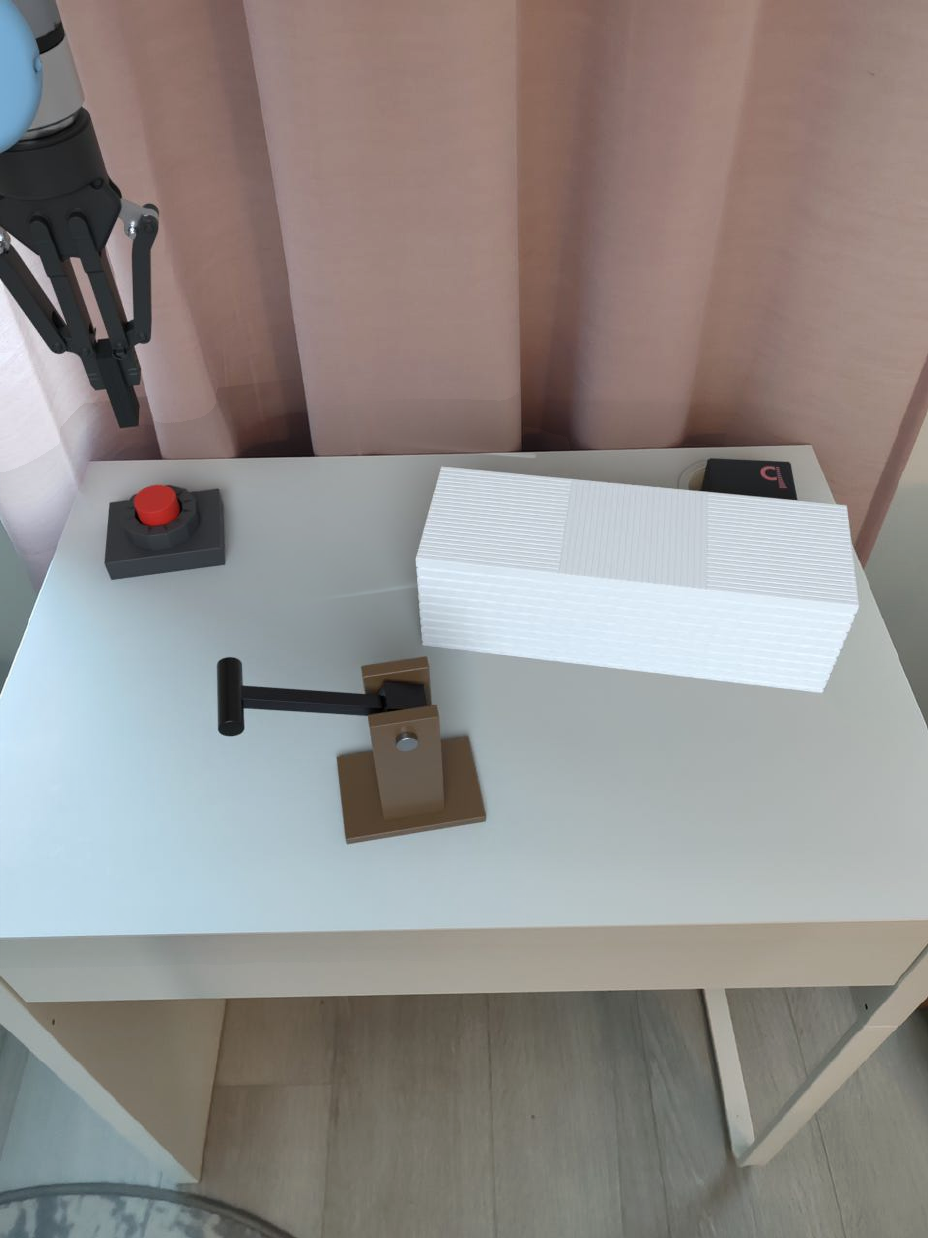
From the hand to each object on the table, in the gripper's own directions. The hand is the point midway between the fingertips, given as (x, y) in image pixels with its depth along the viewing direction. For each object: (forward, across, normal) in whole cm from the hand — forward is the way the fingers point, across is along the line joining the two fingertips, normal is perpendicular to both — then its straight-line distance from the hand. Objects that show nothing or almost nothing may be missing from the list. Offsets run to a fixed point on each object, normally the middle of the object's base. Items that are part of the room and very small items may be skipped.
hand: (129, 416), depth 81 cm
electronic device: (+15, +51, -10) cm, 54 cm away
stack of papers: (+14, +38, -18) cm, 44 cm away
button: (+10, 0, 0) cm, 10 cm away
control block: (+14, 0, 0) cm, 14 cm away
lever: (+2, +13, -31) cm, 33 cm away
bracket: (+14, +18, -31) cm, 38 cm away
